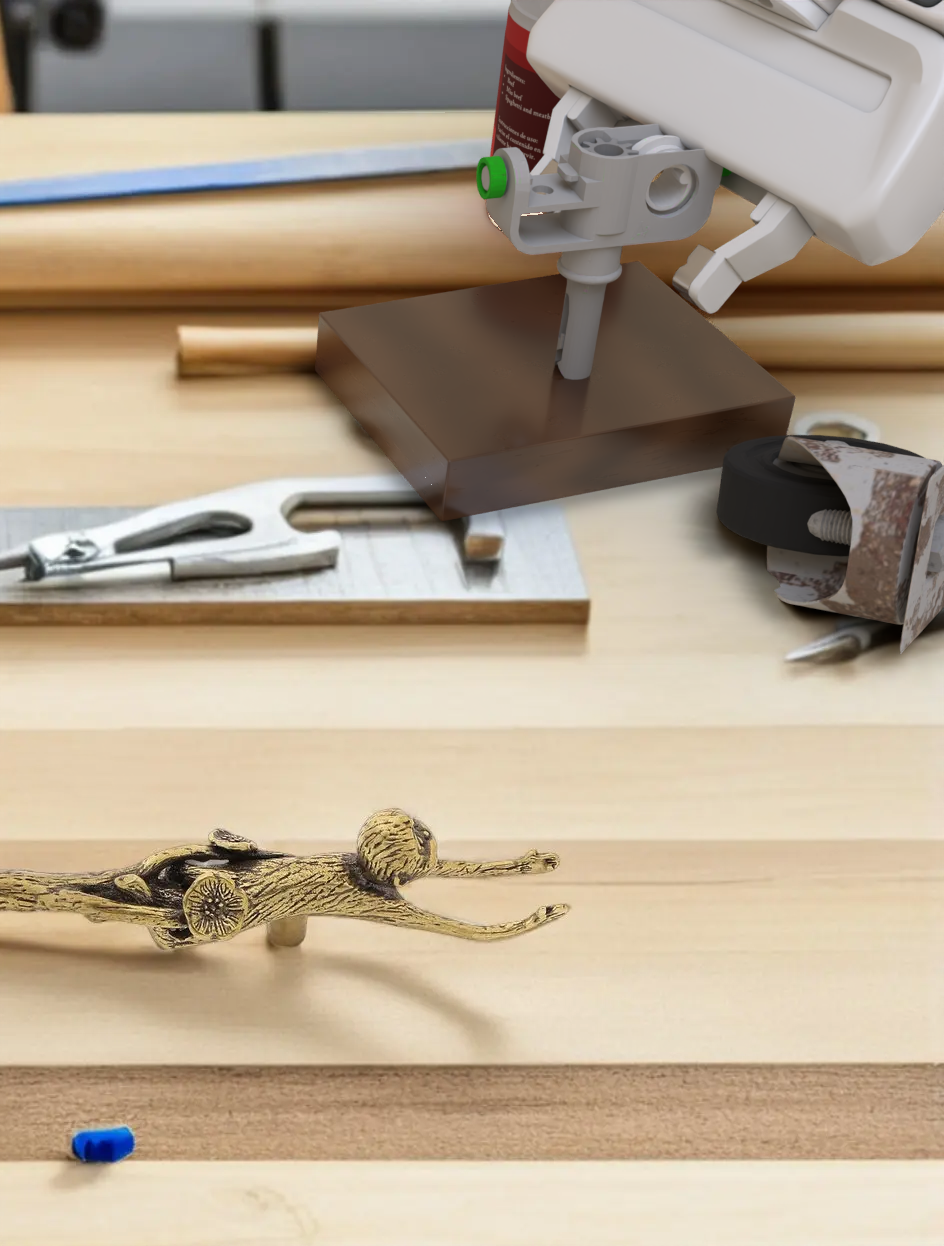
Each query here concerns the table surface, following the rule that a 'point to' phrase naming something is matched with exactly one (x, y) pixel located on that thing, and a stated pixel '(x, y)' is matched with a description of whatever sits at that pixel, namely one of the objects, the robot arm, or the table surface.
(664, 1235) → the table surface
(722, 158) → the robot arm
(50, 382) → the table surface
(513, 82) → the canned food
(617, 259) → the mechanical component
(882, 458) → the caster wheel
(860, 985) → the table surface
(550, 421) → the plinth
